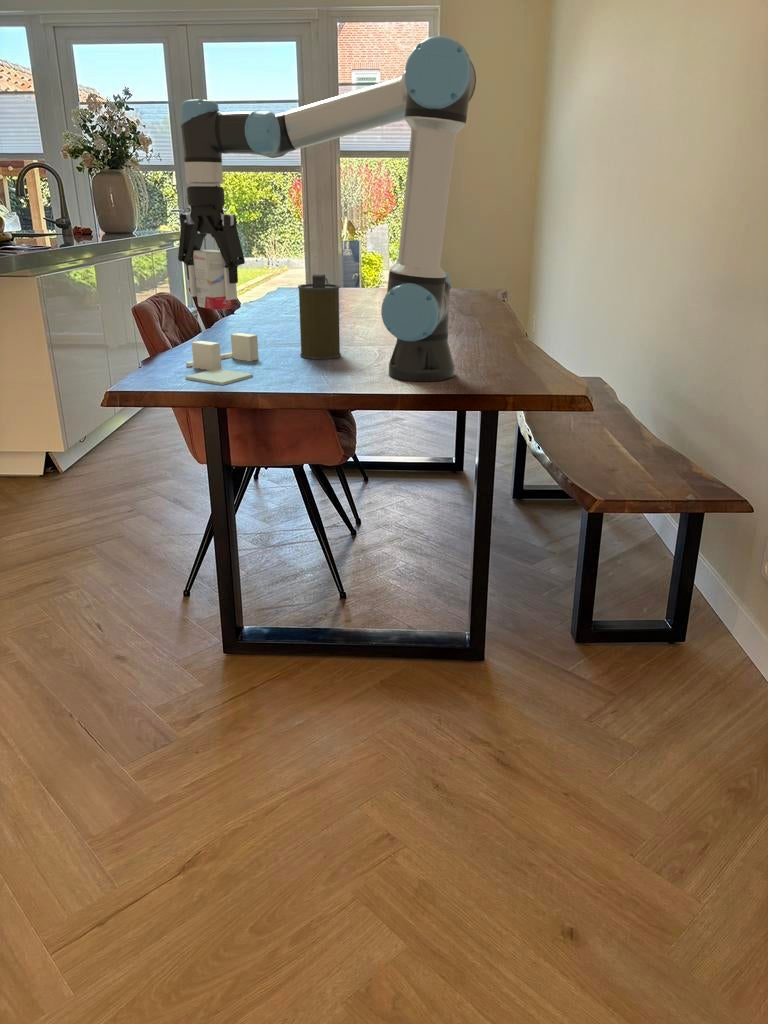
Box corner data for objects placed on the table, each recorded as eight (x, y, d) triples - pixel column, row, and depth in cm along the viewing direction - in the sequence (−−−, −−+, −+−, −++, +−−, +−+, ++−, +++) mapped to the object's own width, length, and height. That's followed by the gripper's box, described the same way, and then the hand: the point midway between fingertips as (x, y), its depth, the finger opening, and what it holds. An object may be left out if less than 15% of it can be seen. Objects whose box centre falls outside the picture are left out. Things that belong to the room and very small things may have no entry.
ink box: (233, 309, 164) (229, 251, 160) (211, 311, 162) (206, 252, 157) (217, 304, 171) (213, 249, 166) (196, 306, 168) (191, 249, 164)
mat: (252, 376, 173) (252, 374, 173) (222, 385, 165) (222, 382, 165) (216, 371, 178) (216, 368, 178) (185, 379, 170) (185, 376, 170)
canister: (339, 359, 192) (338, 277, 184) (298, 359, 192) (295, 276, 184) (341, 351, 202) (340, 272, 194) (302, 351, 202) (299, 272, 194)
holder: (258, 359, 192) (257, 335, 189) (212, 370, 179) (210, 345, 176) (233, 355, 196) (231, 331, 193) (186, 366, 183) (184, 341, 180)
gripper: (258, 185, 154) (264, 299, 163) (179, 185, 165) (189, 292, 174) (233, 185, 148) (240, 303, 157) (153, 185, 159) (164, 295, 168)
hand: (213, 297), depth 165 cm, fingers closed on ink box, 10 cm apart
